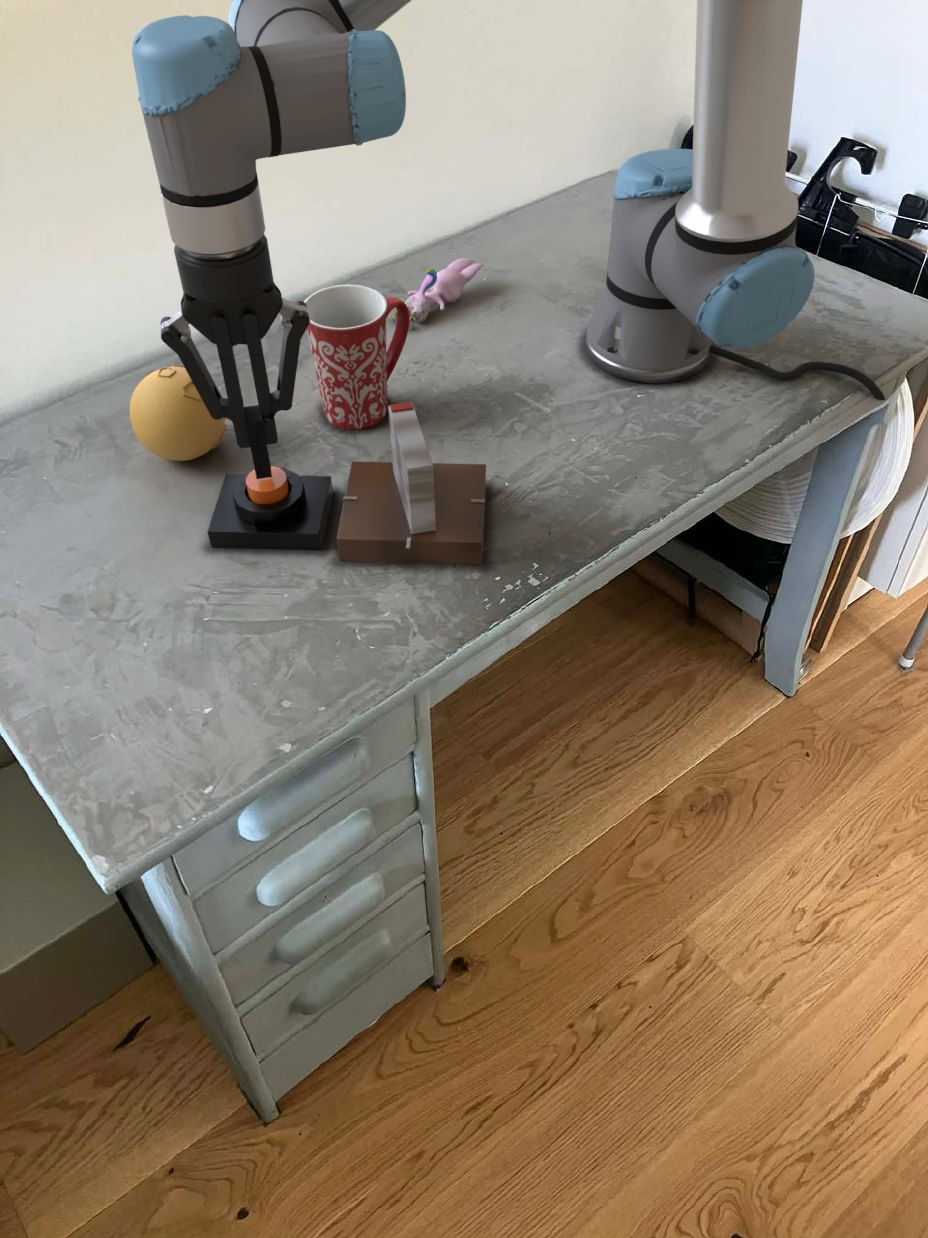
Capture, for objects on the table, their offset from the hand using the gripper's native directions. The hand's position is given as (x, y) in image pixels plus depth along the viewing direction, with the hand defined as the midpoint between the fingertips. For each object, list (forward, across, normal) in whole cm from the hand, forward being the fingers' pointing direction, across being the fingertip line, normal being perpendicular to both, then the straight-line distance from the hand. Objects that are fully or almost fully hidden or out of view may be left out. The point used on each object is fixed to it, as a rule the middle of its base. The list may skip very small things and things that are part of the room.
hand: (263, 469), depth 100 cm
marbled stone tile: (+3, -14, +4) cm, 15 cm away
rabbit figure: (+7, -25, -38) cm, 46 cm away
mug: (+7, -13, -17) cm, 23 cm away
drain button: (+3, 0, 0) cm, 3 cm away
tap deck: (+7, -14, +4) cm, 16 cm away
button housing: (+7, 0, 0) cm, 7 cm away
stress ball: (+7, +8, -14) cm, 17 cm away
